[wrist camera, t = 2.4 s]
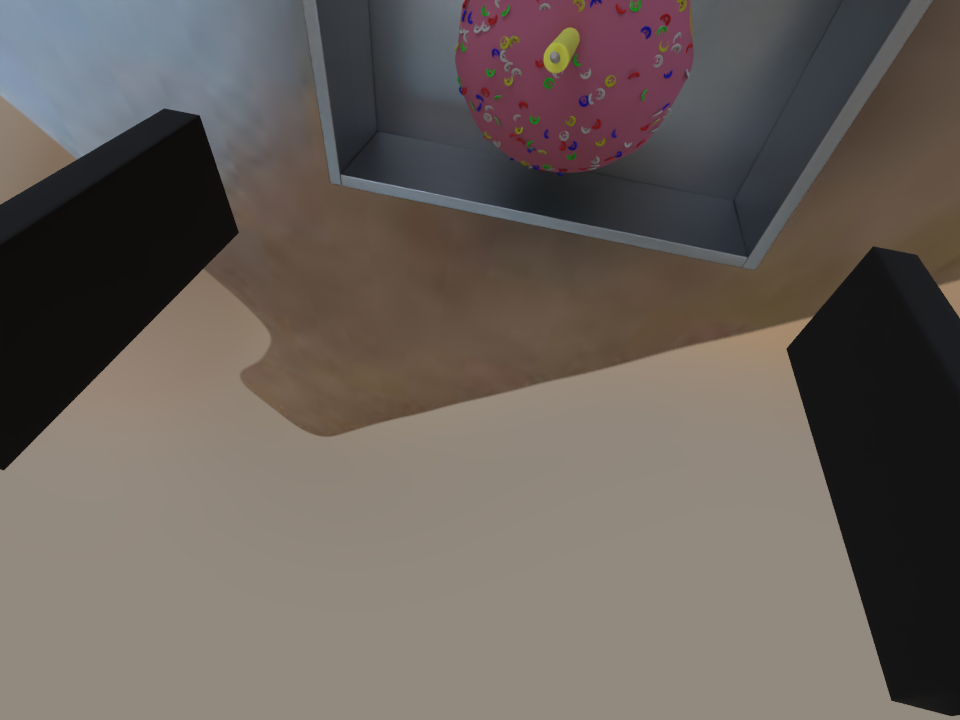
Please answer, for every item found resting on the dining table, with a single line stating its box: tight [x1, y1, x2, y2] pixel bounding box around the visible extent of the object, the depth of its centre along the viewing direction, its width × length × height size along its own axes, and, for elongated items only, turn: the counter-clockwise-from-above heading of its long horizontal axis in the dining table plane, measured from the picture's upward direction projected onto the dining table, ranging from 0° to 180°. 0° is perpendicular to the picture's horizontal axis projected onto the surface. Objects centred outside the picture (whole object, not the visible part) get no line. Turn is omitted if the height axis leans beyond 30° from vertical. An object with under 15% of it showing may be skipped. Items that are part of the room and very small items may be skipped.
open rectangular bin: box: [302, 0, 933, 270], centre depth 19 cm, size 20×14×5 cm
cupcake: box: [454, 0, 694, 177], centre depth 17 cm, size 9×8×12 cm
